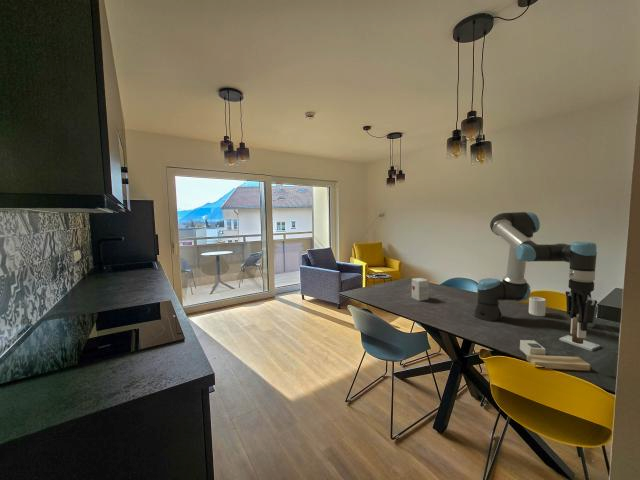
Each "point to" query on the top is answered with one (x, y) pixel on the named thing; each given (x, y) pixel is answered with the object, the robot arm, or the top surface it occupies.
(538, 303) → the mug
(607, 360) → the top surface
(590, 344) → the hard drive
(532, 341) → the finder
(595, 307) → the grey round pot
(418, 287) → the supplement box
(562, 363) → the batten
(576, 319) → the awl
